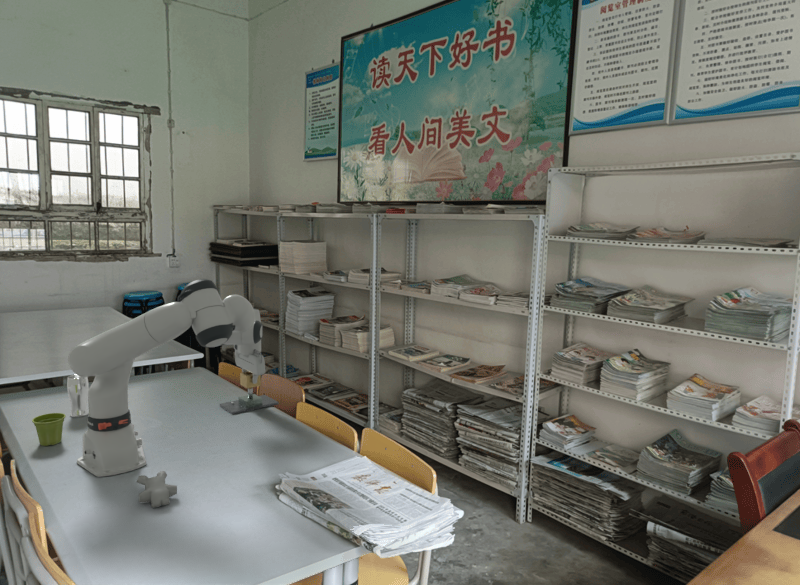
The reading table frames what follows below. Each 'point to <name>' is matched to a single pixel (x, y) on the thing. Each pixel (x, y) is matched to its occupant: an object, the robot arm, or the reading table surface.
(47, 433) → the plant pot
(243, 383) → the tan square sleeve
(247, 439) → the reading table surface
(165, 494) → the grey chunky knobbed piece
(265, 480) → the reading table surface
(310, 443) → the reading table surface
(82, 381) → the beer glass
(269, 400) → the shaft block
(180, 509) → the reading table surface
